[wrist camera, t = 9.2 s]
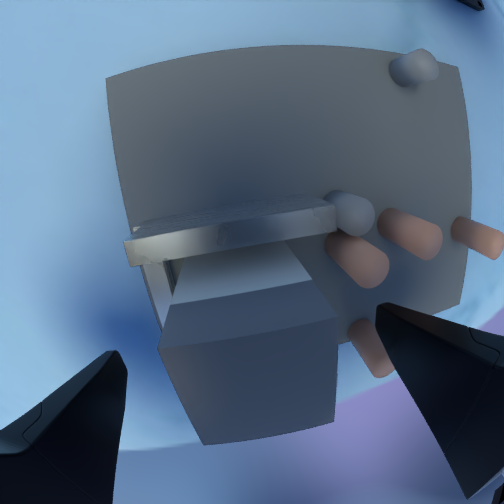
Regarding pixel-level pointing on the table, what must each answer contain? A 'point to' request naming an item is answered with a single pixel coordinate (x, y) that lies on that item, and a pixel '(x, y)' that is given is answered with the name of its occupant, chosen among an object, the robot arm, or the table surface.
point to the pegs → (394, 230)
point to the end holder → (221, 234)
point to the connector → (250, 345)
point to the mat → (302, 154)
